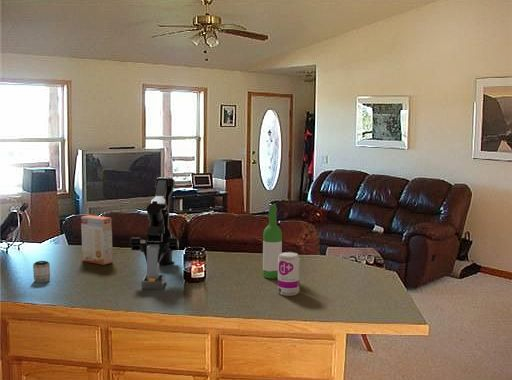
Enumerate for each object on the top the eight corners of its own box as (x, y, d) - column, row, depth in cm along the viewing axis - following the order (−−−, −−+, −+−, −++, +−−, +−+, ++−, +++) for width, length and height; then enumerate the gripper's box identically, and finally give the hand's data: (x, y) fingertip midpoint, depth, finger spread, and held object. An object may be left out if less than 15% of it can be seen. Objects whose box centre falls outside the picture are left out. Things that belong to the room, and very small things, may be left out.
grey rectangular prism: (149, 276, 228) (149, 244, 226) (159, 276, 228) (159, 244, 226) (147, 279, 223) (146, 247, 221) (157, 280, 223) (157, 247, 221)
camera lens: (44, 277, 235) (43, 259, 234) (53, 280, 232) (52, 261, 231) (30, 281, 230) (29, 262, 229) (39, 284, 227) (39, 264, 226)
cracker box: (113, 262, 259) (112, 217, 256) (103, 265, 254) (101, 219, 251) (92, 258, 267) (90, 214, 264) (81, 261, 262) (80, 216, 259)
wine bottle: (283, 279, 235) (284, 206, 231) (264, 279, 234) (265, 207, 230) (279, 273, 243) (280, 203, 239) (261, 274, 241) (261, 204, 237)
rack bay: (145, 282, 230) (145, 272, 229) (165, 282, 230) (164, 271, 229) (141, 288, 221) (141, 278, 220) (162, 288, 221) (161, 278, 221)
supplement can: (292, 297, 211) (293, 258, 209) (273, 293, 216) (273, 255, 214) (303, 291, 218) (303, 253, 216) (284, 288, 223) (284, 250, 221)
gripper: (130, 217, 226) (125, 251, 216) (177, 217, 226) (174, 251, 217) (134, 232, 234) (129, 266, 225) (179, 232, 235) (177, 266, 226)
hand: (152, 262), depth 223 cm, fingers closed on grey rectangular prism, 4 cm apart
